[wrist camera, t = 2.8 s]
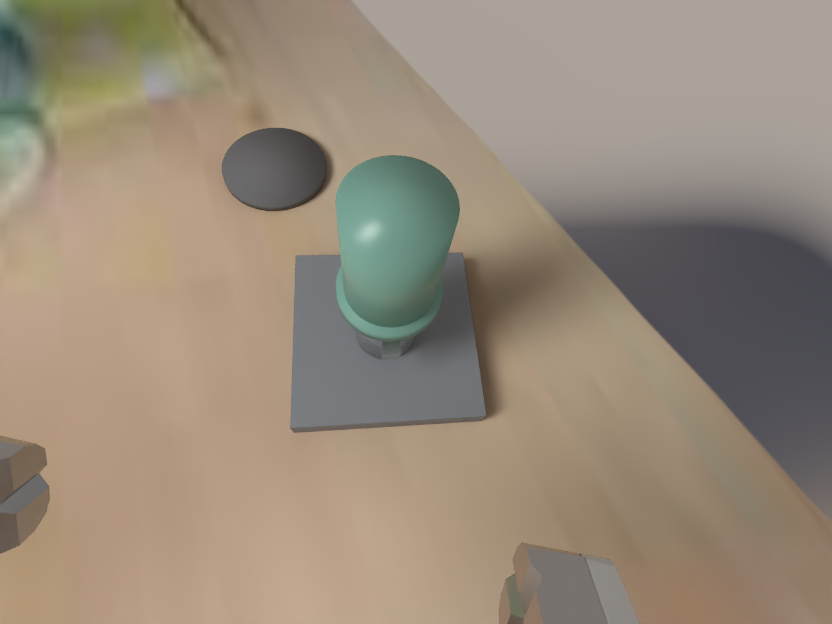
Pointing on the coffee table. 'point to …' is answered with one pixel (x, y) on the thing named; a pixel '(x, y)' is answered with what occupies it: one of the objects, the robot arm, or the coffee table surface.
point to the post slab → (380, 360)
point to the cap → (393, 245)
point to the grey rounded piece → (383, 347)
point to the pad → (274, 169)
